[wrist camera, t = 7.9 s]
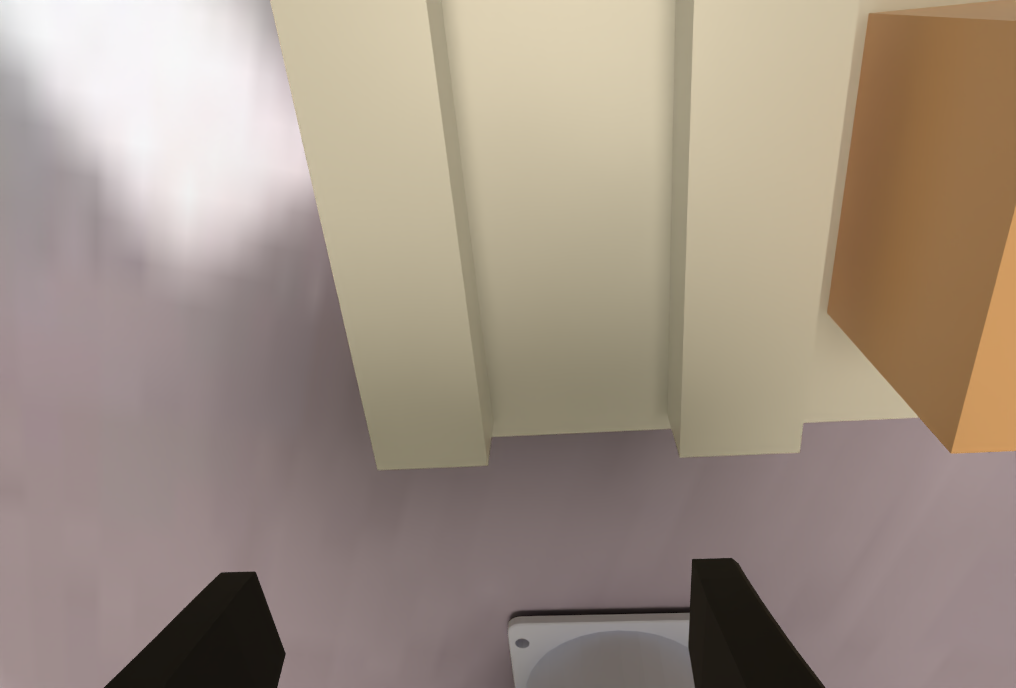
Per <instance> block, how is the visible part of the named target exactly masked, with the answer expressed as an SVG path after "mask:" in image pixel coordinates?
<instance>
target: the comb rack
mask: <svg viewBox="0 0 1016 688" xmlns="http://www.w3.org/2000/svg"><path fill="white" fill-rule="evenodd" d="M988 1H998V0H270V2H271V7H272V11H273V15H274V20H275V24H276V28H277V33H278V37H279V41H280V46H281V50H282V55H283V59H284V63H285V68H286V72H287V76H288V81H289V85H290V90H291V94H292V98H293V103H294V107H295V111H296V116H297V120H298V125H299V129H300V133H301V138H302V142H303V146H304V151H305V155H306V160H307V164H308V168H309V173H310V177H311V181H312V186H313V190H314V194H315V199H316V203H317V208H318V212H319V216H320V221H321V225H322V229H323V234H324V238H325V243H326V247H327V251H328V256H329V260H330V264H331V269H332V273H333V278H334V282H335V286H336V291H337V295H338V299H339V304H340V308H341V313H342V317H343V321H344V326H345V330H346V334H347V339H348V343H349V347H350V352H351V356H352V361H353V365H354V369H355V374H356V378H357V382H358V387H359V391H360V396H361V400H362V404H363V409H364V413H365V417H366V422H367V426H368V431H369V435H370V439H371V444H372V448H373V452H374V457H375V461H376V466H377V470H396V469H420V468H444V467H468V466H488V462H489V454H490V446H491V438H492V437H504V436H526V435H548V434H570V433H592V432H614V431H635V430H657V429H672V433H673V436H674V440H675V443H676V447H677V450H678V454H679V457H680V458H683V457H707V456H731V455H754V454H778V453H800V446H801V438H802V430H803V423H810V422H832V421H854V420H876V419H898V418H919V417H918V416H917V414H916V413H915V412H914V411H913V410H912V409H911V408H910V407H909V405H908V404H907V403H906V402H905V401H904V400H903V399H902V397H901V396H900V395H899V394H898V393H897V392H896V391H895V390H894V388H893V387H892V386H891V385H890V384H889V383H888V382H887V380H886V379H885V378H884V377H883V376H882V375H881V374H880V373H879V371H878V370H877V369H876V368H875V367H874V366H873V365H872V363H871V362H870V361H869V360H868V359H867V358H866V357H865V355H864V354H863V353H862V352H861V351H860V350H859V349H858V348H857V346H856V345H855V344H854V343H853V342H852V341H851V340H850V338H849V337H848V336H847V335H846V334H845V333H844V332H843V331H842V329H841V328H840V327H839V326H838V325H837V324H836V323H835V321H834V320H833V319H832V318H831V317H830V316H829V315H828V314H827V309H828V302H829V295H830V288H831V280H832V273H833V266H834V259H835V252H836V245H837V237H838V230H839V223H840V216H841V209H842V202H843V194H844V187H845V180H846V173H847V166H848V159H849V151H850V144H851V137H852V130H853V123H854V116H855V108H856V101H857V94H858V87H859V80H860V73H861V65H862V58H863V51H864V44H865V37H866V30H867V22H868V15H869V13H876V12H886V11H896V10H906V9H917V8H927V7H937V6H947V5H957V4H967V3H978V2H988Z"/></svg>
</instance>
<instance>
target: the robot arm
mask: <svg viewBox="0 0 1016 688" xmlns="http://www.w3.org/2000/svg"><path fill="white" fill-rule="evenodd" d="M521 638H522V639H521ZM508 640H509V648H510V655H511V662H512V670H513V677H514V685H515V688H825V686H824V685H823V684H822V683H821V681H820V680H819V679H818V677H817V676H816V675H815V673H814V672H813V671H812V670H811V668H810V667H809V666H808V664H807V663H806V662H805V660H804V659H803V658H802V657H801V655H800V654H799V653H798V651H797V650H796V649H795V647H794V646H793V644H792V643H791V642H790V640H789V639H788V638H787V636H786V635H785V633H784V632H783V631H782V629H781V628H780V626H779V625H778V623H777V622H776V621H775V619H774V618H773V616H772V615H771V613H770V612H769V611H768V609H767V608H766V606H765V605H764V603H763V602H762V600H761V599H760V597H759V596H758V594H757V593H756V591H755V590H754V588H753V586H752V585H751V583H750V582H749V580H748V579H747V577H746V575H745V574H744V572H743V571H742V569H741V567H740V565H739V564H738V563H737V562H736V561H735V560H733V559H732V558H718V559H692V576H691V597H690V613H654V614H607V615H560V616H520V617H515V618H513V619H511V620H510V621H509V623H508ZM284 658H285V651H284V648H283V645H282V643H281V640H280V637H279V634H278V632H277V629H276V626H275V624H274V621H273V618H272V615H271V613H270V610H269V607H268V604H267V602H266V599H265V596H264V593H263V591H262V588H261V585H260V583H259V580H258V577H257V574H256V572H225V573H220V574H219V575H218V576H217V577H216V578H215V579H214V580H213V581H212V582H211V583H210V584H209V585H208V586H207V587H205V588H204V589H203V590H202V591H201V592H200V593H199V594H198V595H197V596H196V597H195V598H194V599H193V600H192V601H191V602H190V603H189V604H188V605H187V606H186V607H185V608H184V609H183V610H182V611H181V612H180V613H179V614H178V615H177V616H176V617H175V618H174V619H173V620H172V621H171V622H170V623H169V624H168V625H167V626H166V627H165V628H164V629H163V630H162V631H161V632H160V633H159V634H158V635H157V636H156V637H155V638H154V639H153V640H152V641H151V642H150V643H149V644H148V645H147V646H146V647H145V648H144V649H143V650H142V651H141V652H140V653H139V654H138V655H137V656H136V657H135V658H134V659H133V660H132V661H131V662H130V663H129V664H128V665H127V666H126V667H125V668H124V669H123V670H122V671H121V672H119V673H118V674H117V675H116V676H115V677H114V678H113V679H112V680H111V681H110V682H109V683H108V684H107V685H106V686H105V687H104V688H277V686H278V682H279V678H280V674H281V670H282V666H283V662H284Z"/></svg>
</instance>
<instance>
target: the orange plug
mask: <svg viewBox="0 0 1016 688" xmlns="http://www.w3.org/2000/svg"><path fill="white" fill-rule="evenodd" d="M827 314H828V315H829V316H830V317H831V318H832V319H833V320H834V321H835V323H836V324H837V325H838V326H839V327H840V328H841V329H842V331H843V332H844V333H845V334H846V335H847V336H848V337H849V338H850V340H851V341H852V342H853V343H854V344H855V345H856V346H857V348H858V349H859V350H860V351H861V352H862V353H863V354H864V355H865V357H866V358H867V359H868V360H869V361H870V362H871V363H872V365H873V366H874V367H875V368H876V369H877V370H878V371H879V373H880V374H881V375H882V376H883V377H884V378H885V379H886V380H887V382H888V383H889V384H890V385H891V386H892V387H893V388H894V390H895V391H896V392H897V393H898V394H899V395H900V396H901V397H902V399H903V400H904V401H905V402H906V403H907V404H908V405H909V407H910V408H911V409H912V410H913V411H914V412H915V413H916V414H917V416H918V417H919V418H920V419H921V420H922V421H923V422H924V424H925V425H926V426H927V427H928V428H929V429H930V430H931V431H932V433H933V434H934V435H935V436H936V437H937V438H938V439H939V441H940V442H941V443H942V444H943V445H944V446H945V447H946V448H947V450H948V451H949V452H950V453H976V452H1000V451H1016V0H998V1H988V2H978V3H967V4H957V5H947V6H937V7H927V8H917V9H906V10H896V11H886V12H876V13H869V15H868V22H867V30H866V37H865V44H864V51H863V58H862V65H861V73H860V80H859V87H858V94H857V101H856V108H855V116H854V123H853V130H852V137H851V144H850V151H849V159H848V166H847V173H846V180H845V187H844V194H843V202H842V209H841V216H840V223H839V230H838V237H837V245H836V252H835V259H834V266H833V273H832V280H831V288H830V295H829V302H828V309H827Z"/></svg>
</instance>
